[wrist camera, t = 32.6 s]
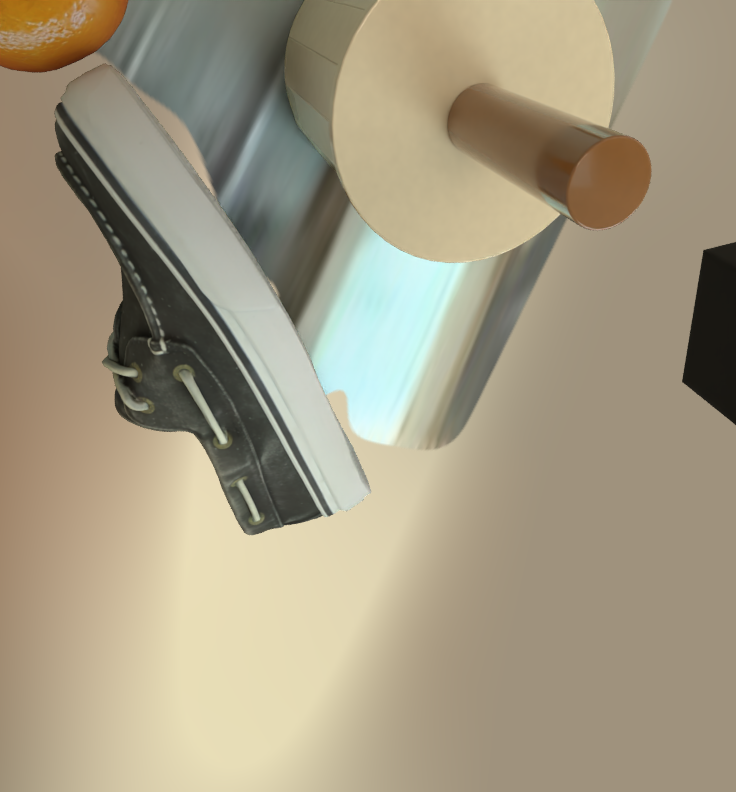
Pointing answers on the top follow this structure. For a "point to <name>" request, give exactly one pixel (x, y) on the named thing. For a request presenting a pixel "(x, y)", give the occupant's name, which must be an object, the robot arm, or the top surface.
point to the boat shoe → (201, 318)
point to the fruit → (55, 31)
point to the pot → (317, 64)
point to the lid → (480, 124)
